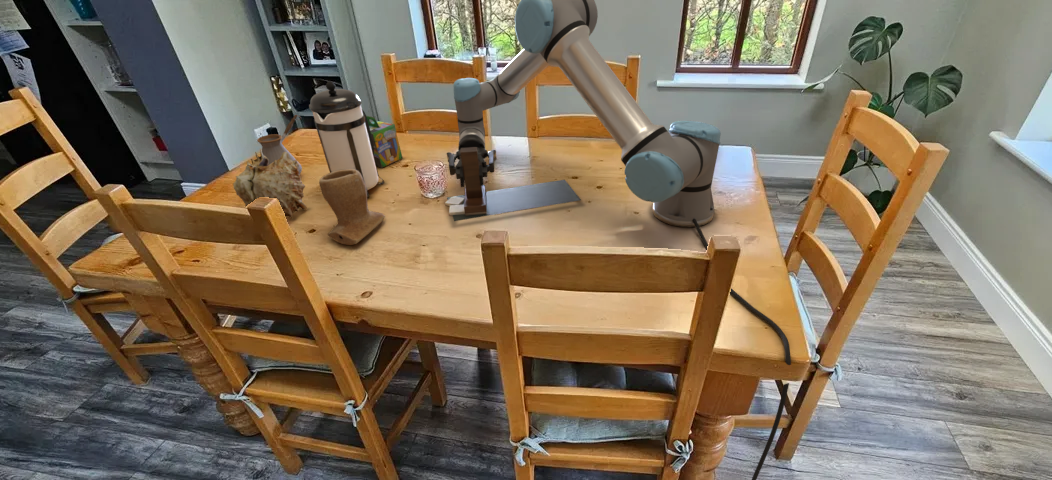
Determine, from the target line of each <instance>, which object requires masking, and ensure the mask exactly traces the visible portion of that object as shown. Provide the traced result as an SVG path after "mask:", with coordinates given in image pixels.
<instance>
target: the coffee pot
mask: <svg viewBox="0 0 1052 480" xmlns="http://www.w3.org/2000/svg"><path fill="white" fill-rule="evenodd" d="M298 118H300V119H298ZM301 120H302V117H301V116H300V115H298V114H294V116H293V117H292V118H290V122H289V123H287V125H286V128H285V129H284V132H283V133H282V135H281V134H277V133H276V134H275V133H274V134H272V133H271V134H267V135H263V136H260V137H258V138H257V139H256V141H257V143H259V144H260V146H261V150H262V153H263V156H266V157H267V158H268V160H269V164H271V163H272V162H274V161H275V160H278V159H280V157H281V156H282V153H284V152H288V153H289V157H290V159H291V160H292V161H294V160H297V159H296V158H295V157H294V155H293V154H292V153H291V152H290V151H289V150H288V149H287V148H286V147H285V146H284V144H283V142H284V140H285V138H286V137H287V136H288V134H289V132H290V131H291V129H292V128H293V126H294V123H296V121H301ZM297 163H299V164H300V165H299V167H298V170H299V174H300V175H301V173H302V170H303V167H302V164H301V163H300V162H299V161H298V160H297ZM269 164H268V165H269Z"/></svg>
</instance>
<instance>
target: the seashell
mask: <svg viewBox="0 0 1052 480" xmlns="http://www.w3.org/2000/svg"><path fill="white" fill-rule="evenodd" d="M259 153H260V156H259V155H258V153H257V152H256V151H255V159H253V158H250V161H251V162H250V161H248V160H247V161H246V166H245V169H244V170H243V171H242V172H241V173H240V174H238V175H235V178H236V179H235V181H234V182H233V183H232V184H233V185H232V186H233V189H234V191H235V194H236V196H238V197H239V198H240V200H242V201H243V203H244V208H245V207H246V206H247V205H248V204H250V203H251V202H253V201H254V200H255V199H257V198H259V197H269V198H277V199H278V200H279V202H280V205H281V207H282V209H283V211H284V213H285V216H286V217H285V218H290V219H292V220H293V219H294V217H293V215H294V213H295V212H298V213H299V209H302V210H303V211H306V210H307V209H308V206H307V204H305V202H303V198H304V196H305V194H304V189H305V188H306V185H305V184H304V183H303V181H302V179H301V178H302V176H301V173H300V174H299V170H298V167H299V165H301V163H300V162H299V163H300V164H299V163H297V161H298V160H297V159H296V160H294V161H292V160H291V159H290V157H289V153H288V152H284V153H282V156H281V157H280V159H278V160H275V161H274V162H272V163H271V164H269V160H268V158H267V157H266V156H263V153H262V148H259ZM268 164H269V165H268Z"/></svg>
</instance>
